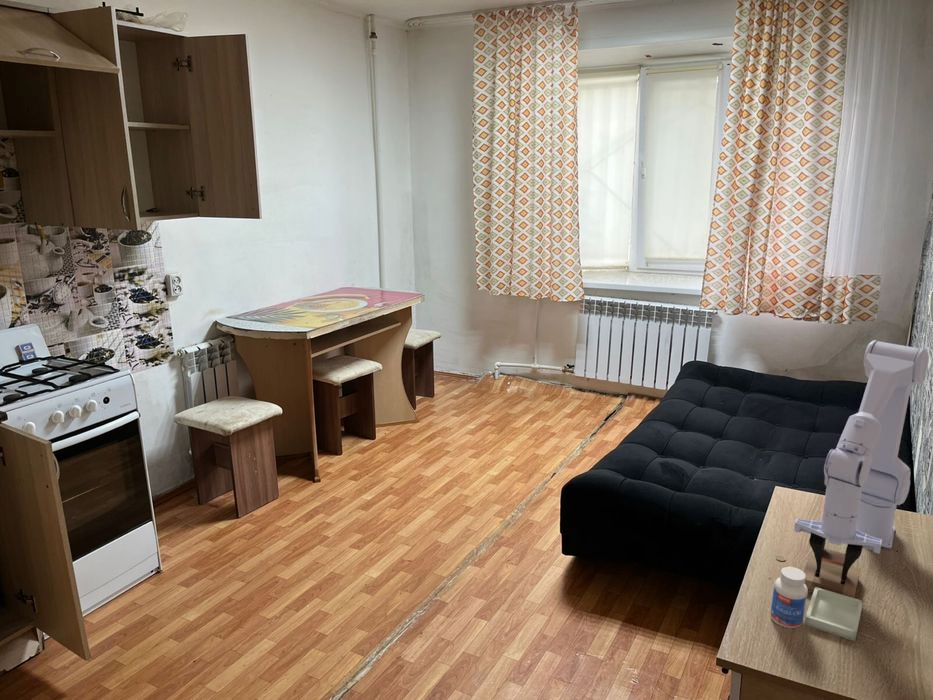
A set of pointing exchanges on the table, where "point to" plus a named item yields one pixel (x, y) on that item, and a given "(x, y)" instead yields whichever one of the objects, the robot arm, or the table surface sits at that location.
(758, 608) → the table surface
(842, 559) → the pink-ended wooden beam
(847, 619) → the tray
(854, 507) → the robot arm
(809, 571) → the wooden square frame
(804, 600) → the pill bottle
